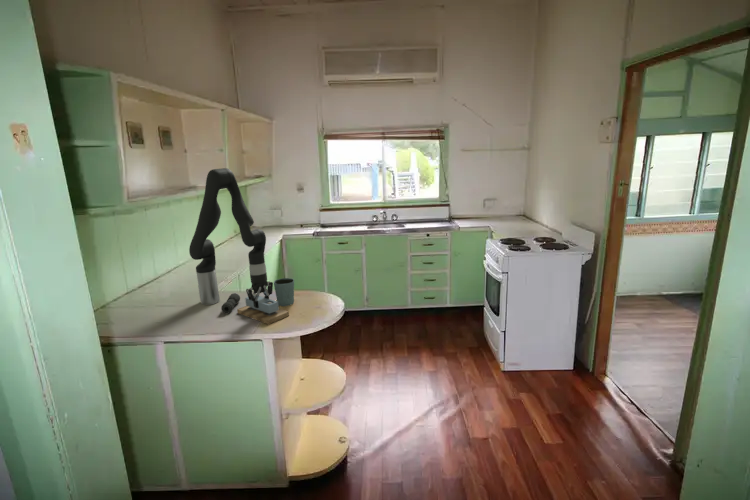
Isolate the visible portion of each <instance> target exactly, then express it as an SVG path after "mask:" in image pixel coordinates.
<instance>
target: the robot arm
mask: <svg viewBox="0 0 750 500" xmlns="http://www.w3.org/2000/svg"><path fill="white" fill-rule="evenodd" d="M206 176H207V177H206V178H205V179H206V180H205V187H204V195H203V199H202V205H201V208H200V212H199V215H198V219H197V225H196V228H195V231H194V234H193V236H192V239H191V241H190V244H189V248H188V250H189V256H190V257H191V259H193V260H195V261H196V260H201V261H200V263H198V264H197V265H196V266H195V272H196V279H197V288H198V294H199V299H200V304H201V305H204V306H206V305H207V306H209V305H214V304H217V303H219V302H220V301H221V299H220V294H219V293H220V291H219V285H218V279H217V278H218V277H217V272H216V265H217V261H216V250H215V245H214V243H213V241H212V240H211V239H208V237H209V236H210V235H211V233H213V232H214V231H215V229H216V228H217V227H218V225H219V222H220V219H221V216H222V215H221V214H222V210H221V207H220V205H219V203H218V195H219V191H220V190H224V189H227V191H228V193H229V194H230V197H231V213H232V216H233V218H234V219H235V221H236V224H237V225H238V227H239V232H240V236H241V240H242V243H243V244H244V245H245V246H246V247H249V248H251V247H252V249H251V250H250V251H249V252H248V253H247V254H248V262H249V263H248V264H249V266H248V268H249V275H250V276H249V278H250V283H251V287H250V288H246V289H245V291H246V294H247V297H248V298H249V300H251V301H253V303H254V307H255V308H259V307H258V301H257V300H258V296H260V295H261V294H262V293H263V297H264V298H267V299H270V295H273V288H274V281H268V274H267V266H266V265H267V264H266V261H265V250H266V244H267V243H266V242H267V237H266V234H265V232H264V230H262V229H259V228H257V229H252V230H251V226H253V225H254V223H255V222H254V221H255V220H254V218H253V216H252V215H251V213H250V212H249V209H248V207H247V206H246V204H245V201H244V199H243V195H242V192H241V189H240V186H239V184H238V182H237V179H236V176H235V173H233V171H232V170H231V169H230V168H226V167H225V168H223V167H222V168H214V169H211V170H209V171H208V172H207V175H206Z"/></svg>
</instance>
